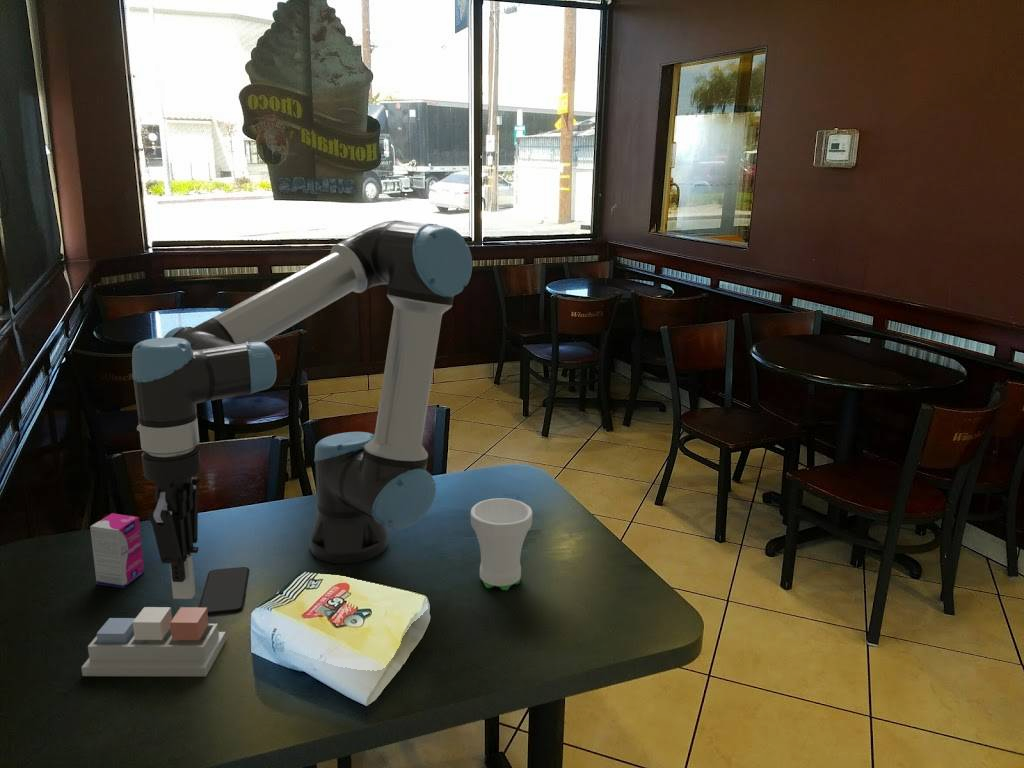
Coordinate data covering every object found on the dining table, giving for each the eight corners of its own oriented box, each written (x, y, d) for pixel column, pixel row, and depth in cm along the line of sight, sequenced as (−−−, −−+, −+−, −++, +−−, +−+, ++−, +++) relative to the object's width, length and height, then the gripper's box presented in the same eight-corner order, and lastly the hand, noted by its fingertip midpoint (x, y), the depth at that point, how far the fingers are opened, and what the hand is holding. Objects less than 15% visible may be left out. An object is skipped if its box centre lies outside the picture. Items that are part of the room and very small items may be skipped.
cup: (457, 580, 140) (457, 510, 136) (499, 559, 148) (500, 492, 144) (501, 604, 133) (503, 531, 129) (542, 581, 141) (545, 511, 137)
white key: (172, 624, 117) (170, 607, 117) (162, 639, 114) (159, 622, 113) (146, 624, 117) (144, 607, 116) (134, 639, 114) (132, 622, 113)
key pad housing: (226, 639, 121) (224, 618, 120) (205, 676, 113) (203, 653, 112) (111, 639, 121) (108, 617, 120) (82, 676, 112) (78, 652, 111)
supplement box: (124, 588, 135) (117, 530, 132) (95, 584, 136) (87, 526, 133) (146, 572, 140) (139, 515, 137) (118, 568, 142) (110, 512, 138)
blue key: (138, 635, 118) (135, 618, 117) (126, 651, 114) (123, 633, 113) (111, 634, 118) (109, 618, 117) (99, 650, 114) (96, 633, 113)
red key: (208, 624, 118) (207, 607, 117) (199, 640, 114) (197, 622, 113) (182, 624, 118) (180, 607, 117) (172, 639, 114) (170, 622, 113)
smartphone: (250, 565, 143) (242, 608, 129) (250, 570, 143) (243, 613, 129) (208, 569, 141) (196, 613, 127) (208, 574, 141) (196, 618, 127)
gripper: (162, 432, 113) (176, 573, 120) (122, 464, 101) (139, 620, 107) (213, 433, 114) (224, 574, 120) (179, 465, 101) (193, 621, 108)
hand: (184, 596), depth 114 cm, fingers closed
